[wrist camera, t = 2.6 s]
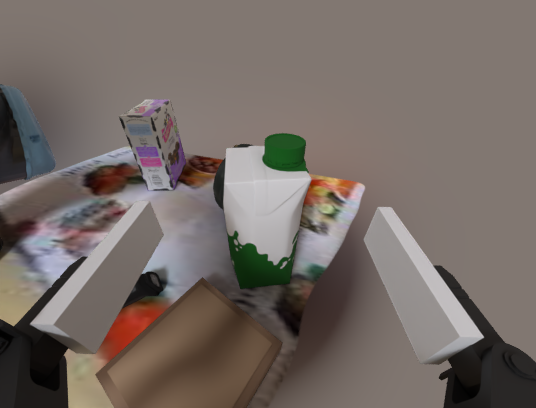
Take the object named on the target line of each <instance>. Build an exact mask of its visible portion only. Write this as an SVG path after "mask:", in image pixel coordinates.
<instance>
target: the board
mask: <svg viewBox="0 0 536 408" xmlns="http://www.w3.org/2000/svg"><path fill="white" fill-rule="evenodd" d="M281 347H282V342H281V341H280V340H278V339H277V338H276V337H275V336H273V335H272V334H271V333H270V332H269V331H267V330H266V329H265V328H264V327H262V326H261V325H260V324H259V323H258V322H256V321H255V320H254V319H253V318H251V317H250V316H249V315H248V314H247V313H245V312H244V311H243V310H242V309H240V308H239V307H238V306H237V305H236V304H234V303H233V302H232V301H231V300H229V299H228V298H227V297H226V296H225V295H223V294H222V293H221V292H220V291H218V290H217V289H216V288H215V287H214V286H212V285H211V284H210V283H209V282H207V281H206V280H205V279H204V278H203V277H202V278H201V279H200V280H199V281H198V282H197V283H196V284H195V285H194V286H192V287H191V288H190V289H189V290H188V291H187V292H186V293H185V294H184V295H183V296H181V297H180V298H179V299H178V300H177V301H176V302H175V303H174V304H173V305H171V306H170V307H169V308H168V309H167V310H166V311H165V312H164V313H163V314H162V315H160V316H159V317H158V318H157V319H156V320H155V321H154V322H153V323H152V324H150V325H149V326H148V327H147V328H146V329H145V330H144V331H143V332H142V333H141V334H139V335H138V336H137V337H136V338H135V339H134V340H133V341H132V342H131V343H130V344H128V345H127V346H126V347H125V348H124V349H123V350H122V351H121V352H120V353H118V354H117V355H116V356H115V357H114V358H113V359H112V360H111V361H110V362H109V363H107V364H106V365H105V366H104V367H103V368H102V369H101V370H100V371H99V372H97V373H96V374H95V375H96V376H97V378H98V380H99V382H100V383H101V385H102V387H103V389H104V390H105V392H106V394H107V396H108V397H109V399H110V401H111V403H112V404H113V406H114V408H247V406H248V405H249V403H250V401H251V400H252V398H253V396H254V395H255V393H256V391H257V389H258V388H259V386H260V384H261V383H262V381H263V379H264V377H265V376H266V374H267V372H268V371H269V369H270V367H271V366H272V364H273V362H274V360H275V359H276V357H277V355H278V354H279V352H280V350H281Z"/></svg>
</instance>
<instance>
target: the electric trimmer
mask: <svg viewBox="0 0 536 408" xmlns="http://www.w3.org/2000/svg"><path fill="white" fill-rule="evenodd" d="M162 290H163V288H162V285H161V282H160V279H159V276H158V275H157V274H156V273H154V272H146V273H145V274H141V275H140V277H139V279H138V280H137V282H136V284H135V286H134V287H133V289H132V291H131V293H130V294H129V296H128V298H127V300H126V301H125V303H124V305H123V307H125V306H127V305H129V304H131V303H133V302H135V301H137V300H139V299H141V298H143V297H145V296H157V295H159V292H161V291H162ZM123 307H122V308H123Z"/></svg>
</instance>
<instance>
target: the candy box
mask: <svg viewBox="0 0 536 408" xmlns="http://www.w3.org/2000/svg"><path fill="white" fill-rule="evenodd" d="M119 118H120V121H121V123H122V126H123V128H124V131H125V134H126V136H127V139H128V141H129V144H130V146H131V149H132V151H133V154H134V156H135V159H136V161H137V164H138V166H139V168H140V171H141V174H142V176H143V179H144V181H145V184H146V186H147V189H148V191H149V190H174V188H175V186H176V184H177V181H178V179H179V177H180V175H181V172H182V170H183V168H184V166H185V164H186V160H185V156H184V152H183V148H182V145H181V141H180V137H179V132H178V129H177V125H176V121H175V116H174V113H173V109H172V105H171V101H170V100H144V102H142V103H140V104H139V105H137V106H136V107H134V108H132V109H131V110H129V111H128V112H126V113H124V114H123V115H120V116H119Z"/></svg>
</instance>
